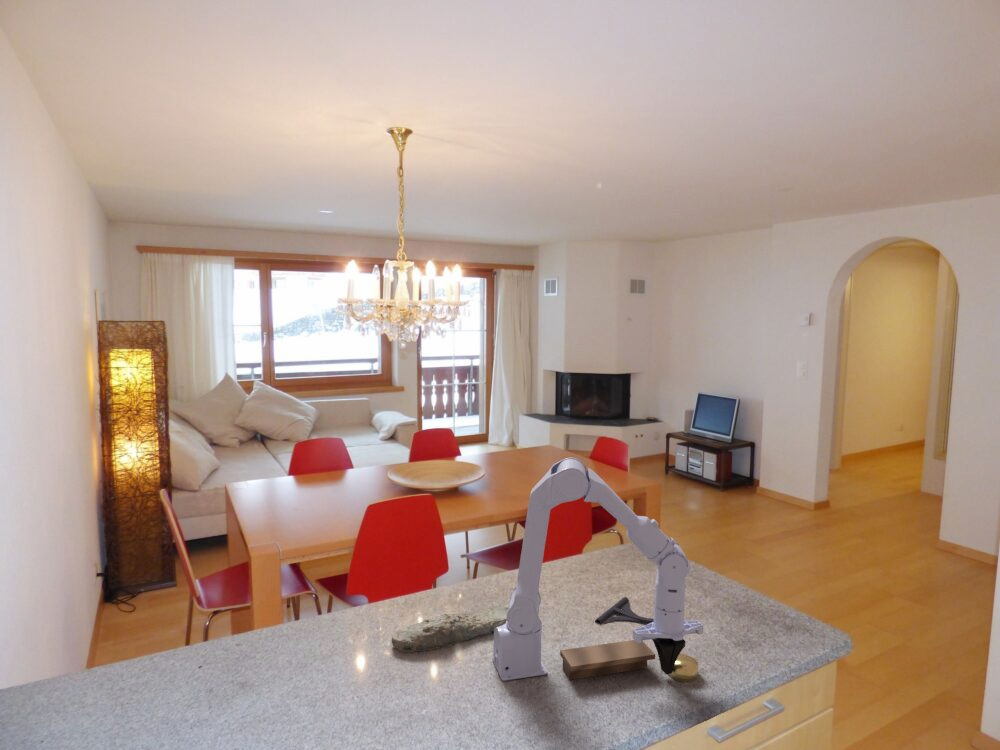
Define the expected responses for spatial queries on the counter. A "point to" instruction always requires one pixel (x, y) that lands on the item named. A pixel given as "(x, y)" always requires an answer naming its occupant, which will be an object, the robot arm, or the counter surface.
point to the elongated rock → (449, 629)
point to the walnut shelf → (605, 659)
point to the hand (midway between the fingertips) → (666, 671)
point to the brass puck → (685, 669)
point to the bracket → (622, 614)
